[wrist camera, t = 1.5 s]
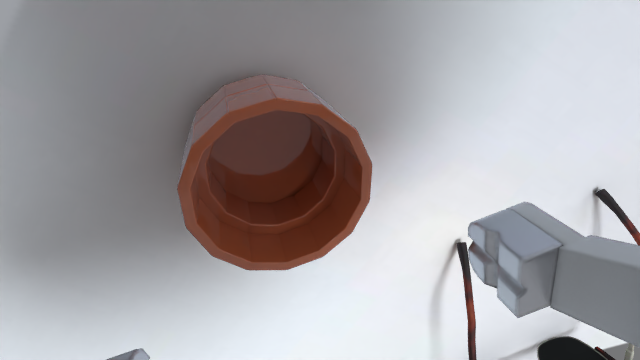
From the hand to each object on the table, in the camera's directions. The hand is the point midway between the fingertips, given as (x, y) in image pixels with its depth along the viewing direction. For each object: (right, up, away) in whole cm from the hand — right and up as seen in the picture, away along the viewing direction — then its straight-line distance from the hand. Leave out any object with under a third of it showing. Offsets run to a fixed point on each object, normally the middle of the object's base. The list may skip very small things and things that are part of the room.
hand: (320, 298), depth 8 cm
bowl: (-2, +4, +8) cm, 9 cm away
